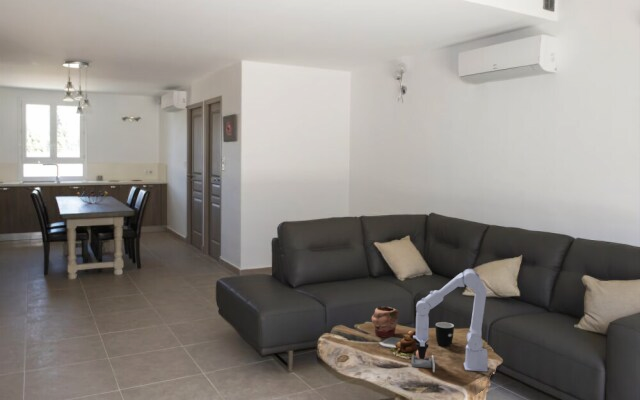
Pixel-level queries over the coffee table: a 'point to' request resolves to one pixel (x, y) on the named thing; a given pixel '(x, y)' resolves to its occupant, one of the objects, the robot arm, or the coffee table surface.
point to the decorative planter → (385, 321)
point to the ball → (418, 355)
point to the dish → (421, 362)
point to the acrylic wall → (433, 364)
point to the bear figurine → (406, 346)
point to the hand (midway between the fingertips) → (421, 356)
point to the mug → (444, 333)
